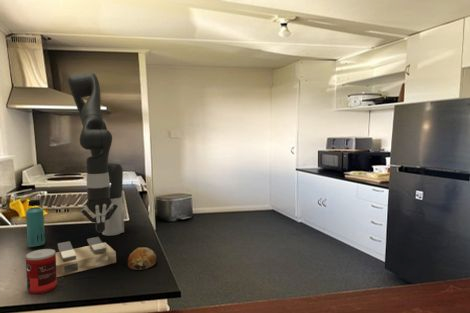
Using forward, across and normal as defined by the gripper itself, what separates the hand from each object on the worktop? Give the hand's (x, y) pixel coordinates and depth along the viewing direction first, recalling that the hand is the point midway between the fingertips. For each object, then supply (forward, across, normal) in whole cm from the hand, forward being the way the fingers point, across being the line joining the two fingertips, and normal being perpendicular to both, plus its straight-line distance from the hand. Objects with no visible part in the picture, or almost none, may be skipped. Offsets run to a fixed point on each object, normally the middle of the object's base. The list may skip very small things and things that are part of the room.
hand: (100, 232), depth 116 cm
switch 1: (+7, +11, -4) cm, 13 cm away
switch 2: (+7, +1, -4) cm, 8 cm away
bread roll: (+12, -11, +11) cm, 20 cm away
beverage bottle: (+12, +16, -34) cm, 39 cm away
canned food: (+11, +20, +8) cm, 24 cm away
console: (+12, +6, -4) cm, 13 cm away
